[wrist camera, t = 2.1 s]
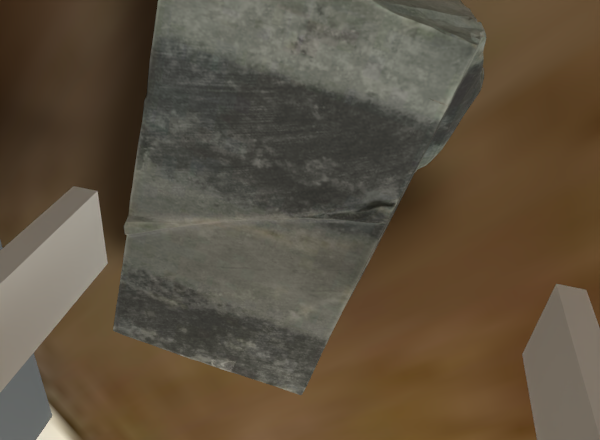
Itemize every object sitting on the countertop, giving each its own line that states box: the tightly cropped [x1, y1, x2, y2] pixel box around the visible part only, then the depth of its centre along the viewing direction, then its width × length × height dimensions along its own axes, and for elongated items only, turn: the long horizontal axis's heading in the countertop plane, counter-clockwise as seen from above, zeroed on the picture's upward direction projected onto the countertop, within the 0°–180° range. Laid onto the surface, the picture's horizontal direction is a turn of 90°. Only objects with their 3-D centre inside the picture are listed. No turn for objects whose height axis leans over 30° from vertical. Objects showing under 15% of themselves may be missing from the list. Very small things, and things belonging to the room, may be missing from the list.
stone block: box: [113, 0, 486, 395], centre depth 18 cm, size 9×14×5 cm, turn 163°
